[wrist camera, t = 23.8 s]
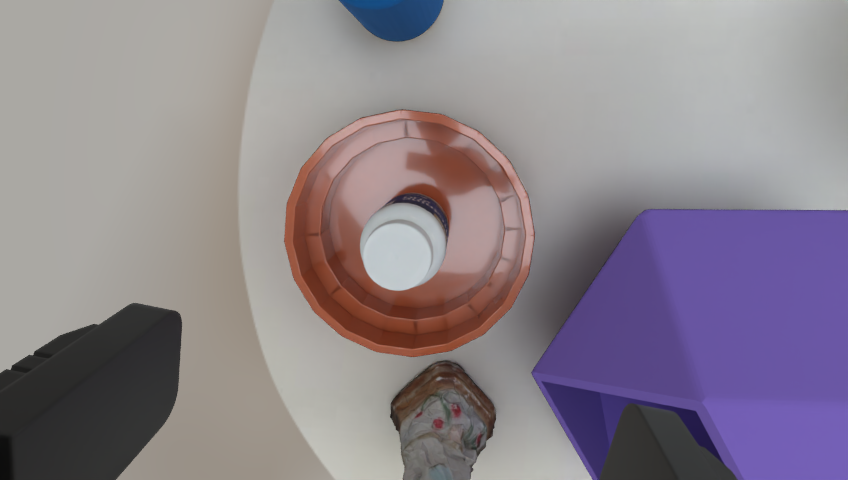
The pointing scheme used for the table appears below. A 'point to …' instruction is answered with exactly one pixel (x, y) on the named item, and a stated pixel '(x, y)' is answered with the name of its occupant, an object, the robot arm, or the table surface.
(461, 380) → the statue
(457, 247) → the bowl
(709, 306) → the purple diamond gem
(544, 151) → the table surface
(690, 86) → the table surface
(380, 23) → the beverage can
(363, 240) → the pill bottle
